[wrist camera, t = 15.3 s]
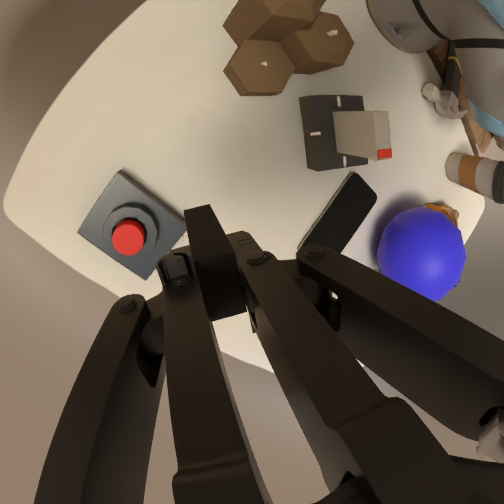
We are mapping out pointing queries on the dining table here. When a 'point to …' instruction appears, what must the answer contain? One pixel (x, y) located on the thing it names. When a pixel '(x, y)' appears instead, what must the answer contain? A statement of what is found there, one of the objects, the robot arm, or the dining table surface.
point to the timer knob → (363, 134)
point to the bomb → (422, 252)
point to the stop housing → (137, 208)
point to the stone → (499, 141)
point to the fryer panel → (326, 130)
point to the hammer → (447, 89)
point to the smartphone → (342, 215)
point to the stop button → (128, 237)
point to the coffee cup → (477, 175)
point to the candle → (282, 43)
